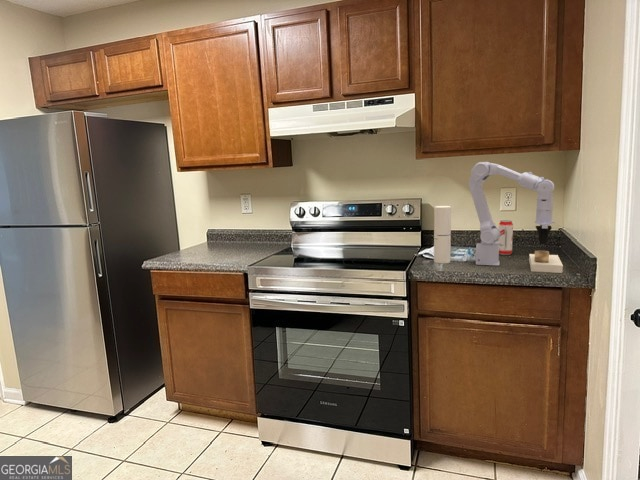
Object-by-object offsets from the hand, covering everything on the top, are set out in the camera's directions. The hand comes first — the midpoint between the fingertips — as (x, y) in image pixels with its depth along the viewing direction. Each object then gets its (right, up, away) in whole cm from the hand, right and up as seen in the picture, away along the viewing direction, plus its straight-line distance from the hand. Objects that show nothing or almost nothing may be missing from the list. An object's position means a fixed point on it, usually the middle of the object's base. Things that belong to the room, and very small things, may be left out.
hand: (542, 243), depth 175 cm
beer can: (-2, -6, +31) cm, 31 cm away
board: (+3, -10, +5) cm, 11 cm away
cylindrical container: (-35, -9, +20) cm, 41 cm away
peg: (0, -10, +2) cm, 10 cm away
